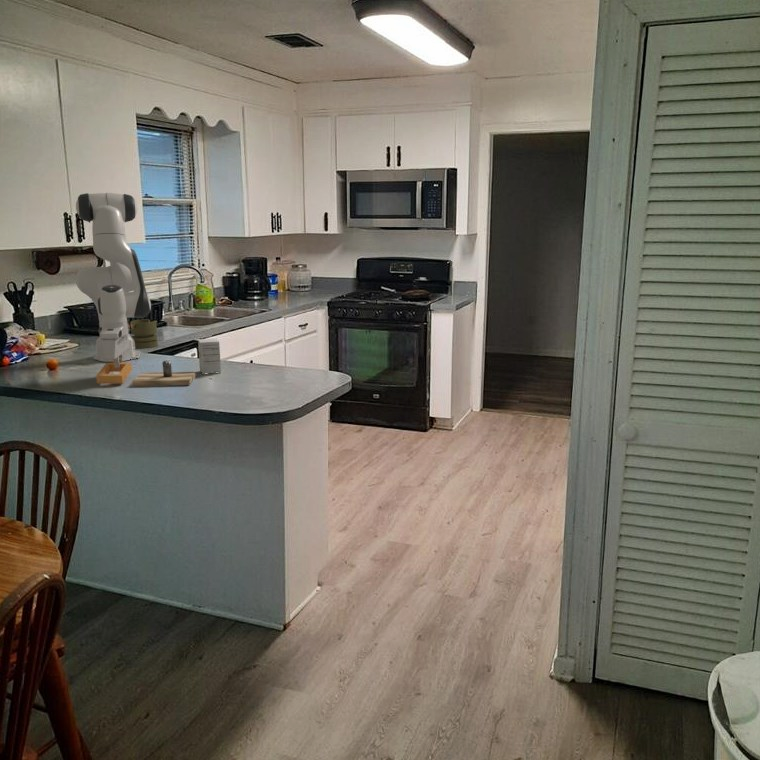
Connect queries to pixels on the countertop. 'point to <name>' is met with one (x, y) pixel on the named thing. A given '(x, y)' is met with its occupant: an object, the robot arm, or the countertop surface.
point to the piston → (144, 333)
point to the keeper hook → (167, 369)
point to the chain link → (106, 378)
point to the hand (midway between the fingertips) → (118, 366)
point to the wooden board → (164, 379)
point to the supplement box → (209, 355)
